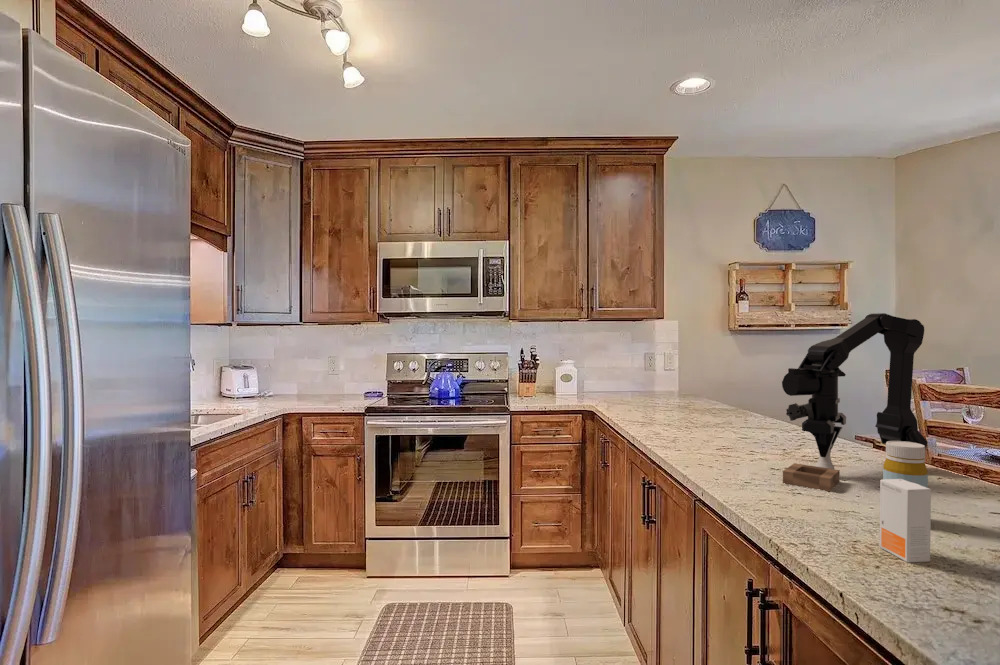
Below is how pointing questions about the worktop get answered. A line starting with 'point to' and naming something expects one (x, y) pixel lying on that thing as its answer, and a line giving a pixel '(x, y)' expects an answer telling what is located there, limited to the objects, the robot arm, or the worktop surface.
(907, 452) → the bottle
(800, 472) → the socket
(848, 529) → the worktop surface
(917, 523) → the skincare box
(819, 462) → the rook chess piece
